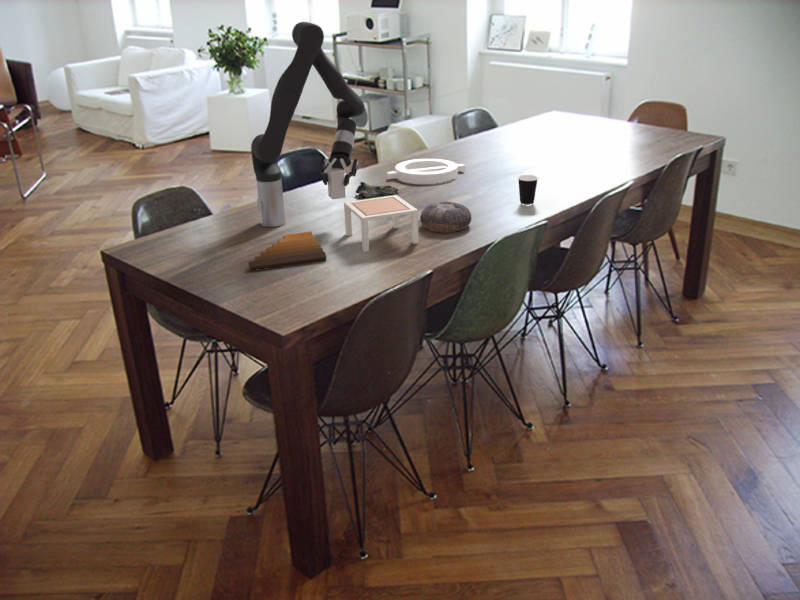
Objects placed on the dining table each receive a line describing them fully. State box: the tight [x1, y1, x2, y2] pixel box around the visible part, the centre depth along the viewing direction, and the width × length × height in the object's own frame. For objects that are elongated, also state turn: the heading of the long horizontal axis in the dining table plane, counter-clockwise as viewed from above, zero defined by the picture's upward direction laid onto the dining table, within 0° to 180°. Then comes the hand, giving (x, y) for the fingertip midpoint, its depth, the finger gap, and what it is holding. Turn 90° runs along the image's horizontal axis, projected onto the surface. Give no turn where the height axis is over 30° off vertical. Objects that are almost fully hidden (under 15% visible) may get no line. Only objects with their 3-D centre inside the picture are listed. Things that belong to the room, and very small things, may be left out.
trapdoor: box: [353, 198, 408, 216], centre depth 270 cm, size 15×15×1 cm
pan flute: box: [248, 231, 327, 271], centre depth 263 cm, size 25×3×25 cm
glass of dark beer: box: [517, 174, 539, 205], centre depth 305 cm, size 8×8×11 cm
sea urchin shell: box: [419, 200, 472, 234], centre depth 284 cm, size 19×19×10 cm
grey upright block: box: [327, 168, 346, 200], centre depth 284 cm, size 5×5×10 cm
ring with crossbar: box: [386, 158, 466, 185], centre depth 349 cm, size 28×28×5 cm
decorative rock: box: [355, 181, 400, 199], centre depth 325 cm, size 19×6×15 cm
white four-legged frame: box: [343, 194, 419, 253], centre depth 272 cm, size 20×20×12 cm
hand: (335, 184), depth 282 cm, fingers closed on grey upright block, 7 cm apart
